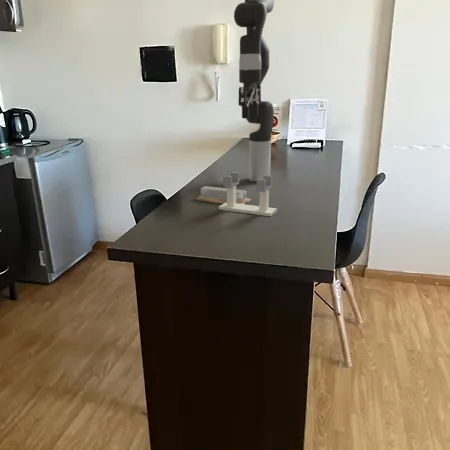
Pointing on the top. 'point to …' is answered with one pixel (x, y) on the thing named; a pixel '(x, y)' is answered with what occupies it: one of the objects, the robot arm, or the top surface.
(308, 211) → the top surface
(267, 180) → the rail stand
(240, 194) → the rail
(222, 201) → the mat
